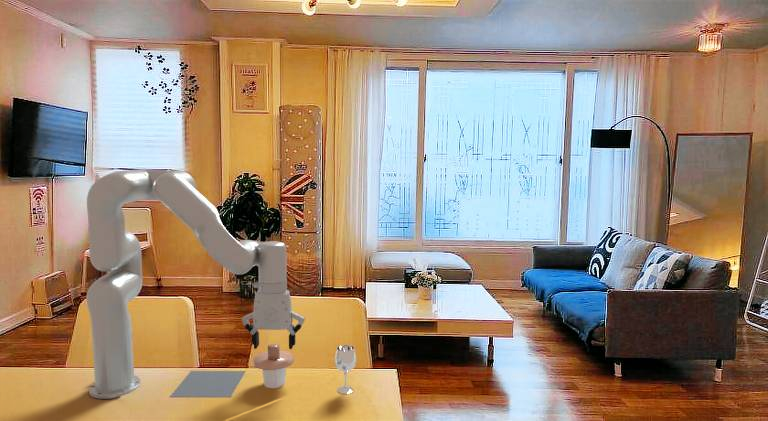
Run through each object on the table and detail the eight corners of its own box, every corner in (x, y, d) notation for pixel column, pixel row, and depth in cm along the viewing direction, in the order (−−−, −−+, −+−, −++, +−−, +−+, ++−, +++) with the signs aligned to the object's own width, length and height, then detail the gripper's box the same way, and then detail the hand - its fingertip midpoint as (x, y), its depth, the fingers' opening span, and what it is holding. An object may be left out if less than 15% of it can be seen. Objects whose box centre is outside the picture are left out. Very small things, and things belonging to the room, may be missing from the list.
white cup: (257, 385, 145) (256, 361, 144) (277, 377, 150) (277, 354, 149) (271, 393, 141) (271, 368, 140) (292, 385, 146) (291, 361, 145)
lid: (245, 361, 145) (245, 345, 144) (279, 350, 152) (279, 335, 152) (267, 373, 137) (267, 357, 136) (301, 361, 145) (301, 346, 144)
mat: (169, 399, 137) (169, 396, 137) (191, 372, 153) (191, 370, 153) (230, 399, 137) (230, 397, 137) (245, 372, 153) (245, 371, 153)
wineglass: (352, 396, 140) (353, 353, 138) (332, 393, 141) (332, 351, 139) (358, 386, 145) (358, 345, 144) (338, 384, 146) (338, 343, 145)
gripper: (237, 290, 138) (238, 352, 140) (302, 291, 138) (303, 352, 140) (244, 283, 146) (246, 341, 148) (306, 283, 146) (307, 342, 148)
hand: (273, 347), depth 144 cm, fingers open, 9 cm apart
